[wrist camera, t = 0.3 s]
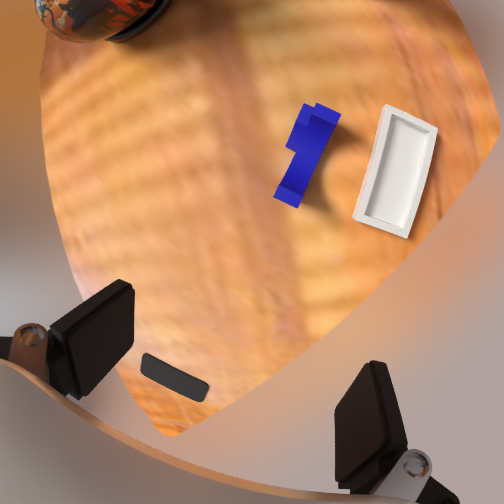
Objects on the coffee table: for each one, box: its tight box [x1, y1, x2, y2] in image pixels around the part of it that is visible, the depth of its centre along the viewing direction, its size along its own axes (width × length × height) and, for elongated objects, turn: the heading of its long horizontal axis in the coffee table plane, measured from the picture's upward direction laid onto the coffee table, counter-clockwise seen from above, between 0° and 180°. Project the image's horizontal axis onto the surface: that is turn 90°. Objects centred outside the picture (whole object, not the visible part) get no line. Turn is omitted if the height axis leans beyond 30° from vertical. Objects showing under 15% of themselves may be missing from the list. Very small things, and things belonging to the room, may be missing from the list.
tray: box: [352, 104, 438, 239], centre depth 30 cm, size 16×8×2 cm, turn 166°
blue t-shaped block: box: [273, 103, 341, 208], centre depth 31 cm, size 12×4×6 cm, turn 157°
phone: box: [140, 353, 208, 402], centre depth 51 cm, size 7×1×15 cm
